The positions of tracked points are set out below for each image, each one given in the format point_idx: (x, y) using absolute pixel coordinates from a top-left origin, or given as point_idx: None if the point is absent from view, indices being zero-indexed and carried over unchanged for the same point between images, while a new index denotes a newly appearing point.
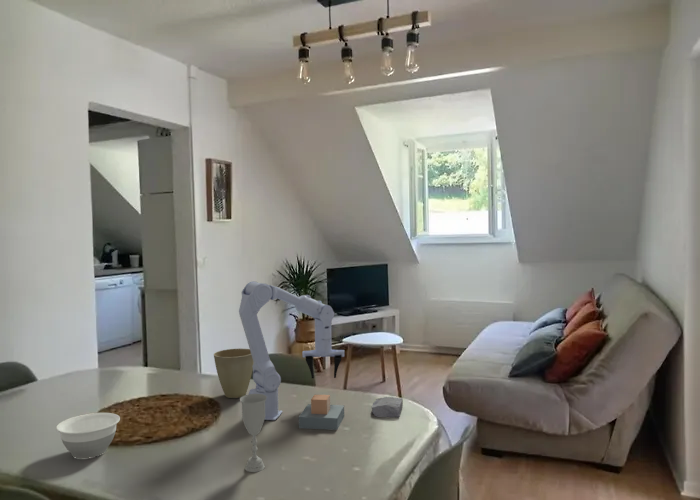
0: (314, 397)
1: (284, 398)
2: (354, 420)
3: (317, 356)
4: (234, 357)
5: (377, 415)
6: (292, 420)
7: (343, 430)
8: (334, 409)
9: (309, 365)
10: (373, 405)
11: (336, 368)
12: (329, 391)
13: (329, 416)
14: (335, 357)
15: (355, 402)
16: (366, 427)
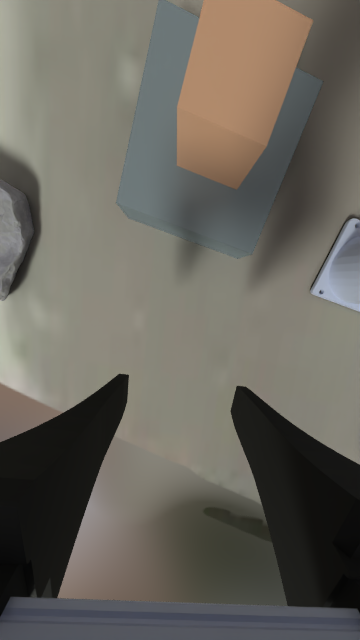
0: (281, 69)
1: (278, 403)
2: (97, 163)
3: (285, 616)
4: None
5: (13, 187)
6: (294, 212)
7: (142, 51)
8: (160, 151)
9: (324, 450)
10: (15, 248)
11: (84, 405)
12: (155, 434)
13: (191, 44)
14: (6, 561)
15: (88, 338)
16: (55, 66)
